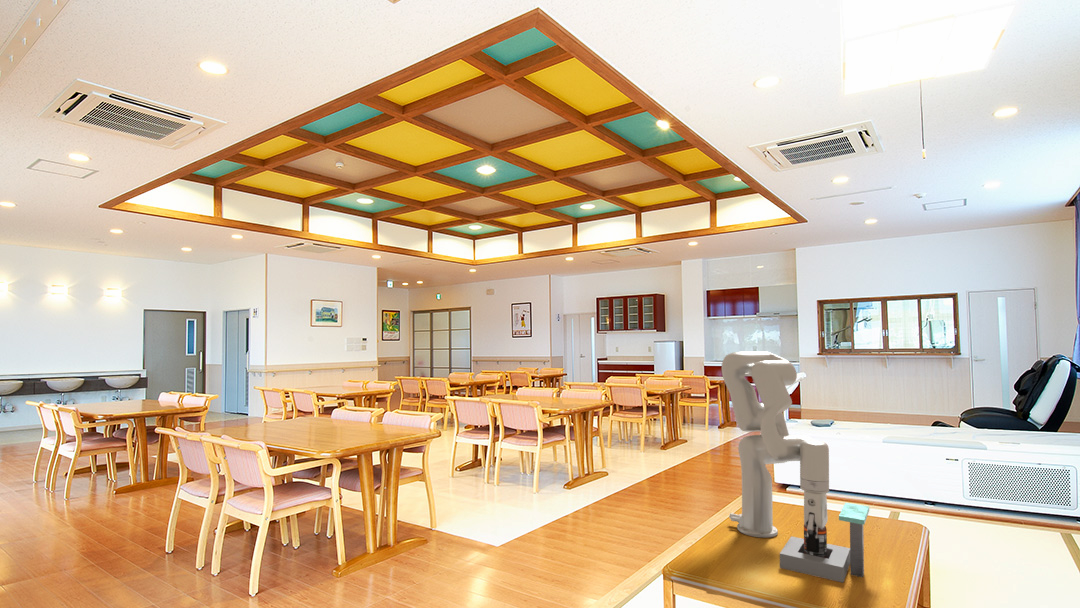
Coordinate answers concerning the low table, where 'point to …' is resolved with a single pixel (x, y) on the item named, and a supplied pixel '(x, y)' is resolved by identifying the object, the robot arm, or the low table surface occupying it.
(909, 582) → the low table surface
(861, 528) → the teal-capped gray pillar
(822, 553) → the supplement bottle
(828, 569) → the socket block
